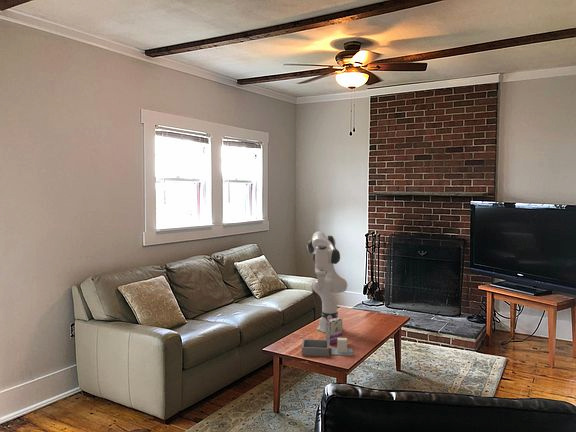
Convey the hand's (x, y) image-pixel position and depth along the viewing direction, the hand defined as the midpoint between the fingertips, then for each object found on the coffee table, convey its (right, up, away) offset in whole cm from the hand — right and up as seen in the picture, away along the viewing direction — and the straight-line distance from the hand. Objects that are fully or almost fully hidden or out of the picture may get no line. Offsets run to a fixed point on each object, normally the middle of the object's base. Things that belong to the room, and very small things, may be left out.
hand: (321, 291), depth 300 cm
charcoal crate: (-4, -38, -8) cm, 39 cm away
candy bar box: (+9, -37, +8) cm, 39 cm away
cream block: (+13, -37, -9) cm, 40 cm away
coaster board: (+13, -38, -9) cm, 41 cm away
